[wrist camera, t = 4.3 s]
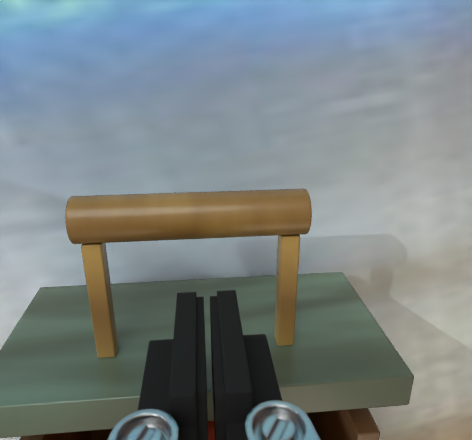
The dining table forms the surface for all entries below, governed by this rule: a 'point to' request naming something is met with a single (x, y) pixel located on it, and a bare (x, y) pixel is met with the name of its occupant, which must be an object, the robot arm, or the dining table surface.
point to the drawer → (163, 318)
